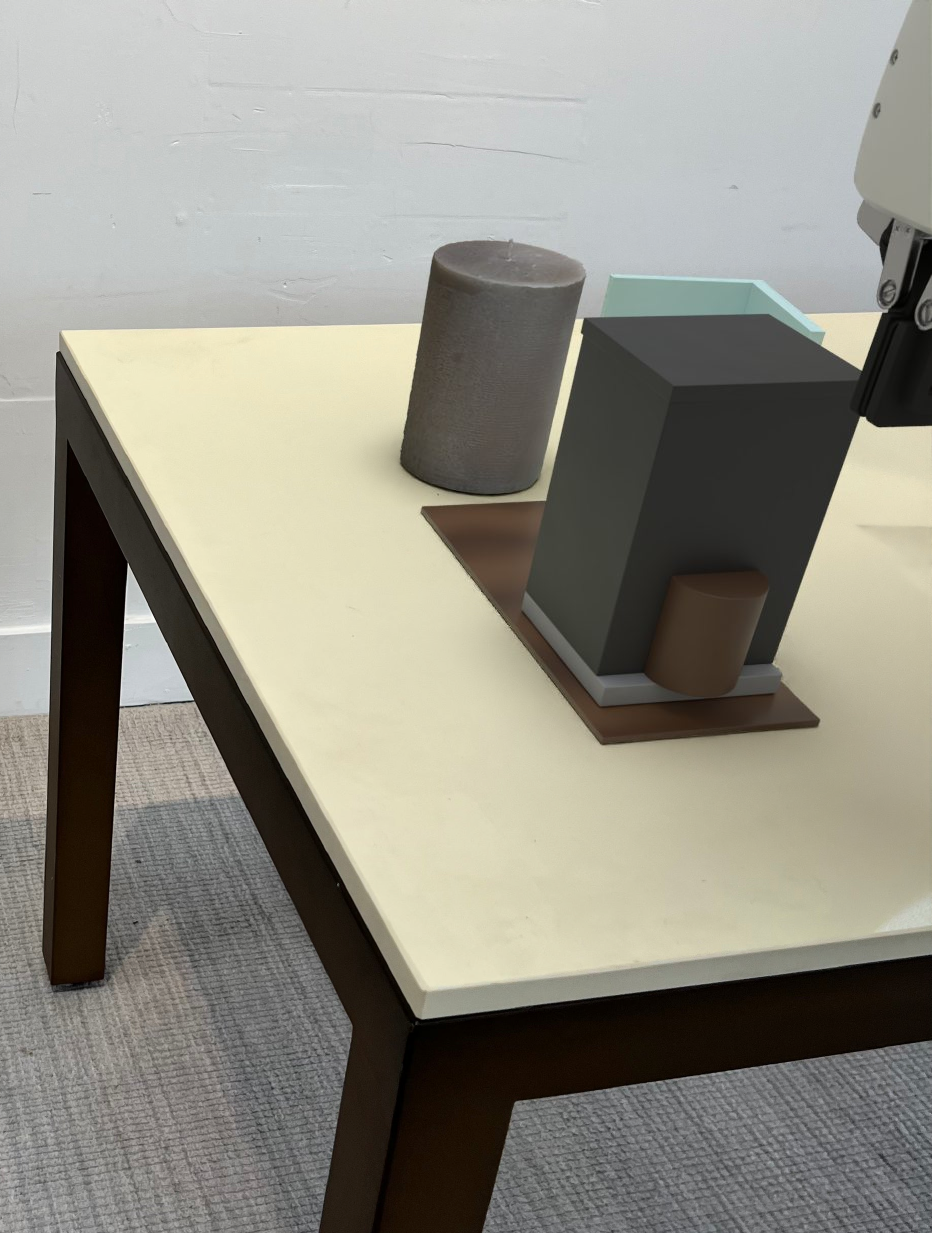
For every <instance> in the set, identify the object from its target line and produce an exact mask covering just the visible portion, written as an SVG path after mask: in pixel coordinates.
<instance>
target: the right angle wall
mask: <svg viewBox="0 0 932 1233" xmlns="http://www.w3.org/2000/svg"><path fill="white" fill-rule="evenodd" d="M603 299H604V300H603V304H602V308H601V312H600V316H599V317H638V316H687V315H737V314H770V315H771V316H773V317H775V318H776V319H778V320H780V321H781V322H783V323H784V324H786V325H788V326H789V327H791V328H793V329H794V330H796V331H798V332H799V333H801V334H802V335H804V336H806V337H807V338H809V339H811V340H812V341H814V342H816V343H817V344H819V345H820V346H822V344H823V342H824V339H825V336H826V330H824V329H823V328H822V327H820V326H819V325H818V324H817V323H815V321H813V320H812V319H810V318H809V317H808V316H807V315H806V314H805V313H803V312H802V311H801V310H800V309H799V308H797V307H796V306H795V305H793V303H791V302H789V301H788V300H787V299H786V298H785V297H783V296H782V295H781V294H780V293H778V292H777V291H776V290H775V289H774V288H773V287H771V286H770V285H769V284H767V283H766V282H765V281H764V280H763V279H749V278H748V279H747V278H724V277H723V278H721V277H698V276H673V275H671V276H668V275H646V274H645V275H643V274H624V273H623V274H620V273H618V274H617V273H610V274H609V277H608V282H607V286H606V290H605V293H604V298H603Z"/></svg>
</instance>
